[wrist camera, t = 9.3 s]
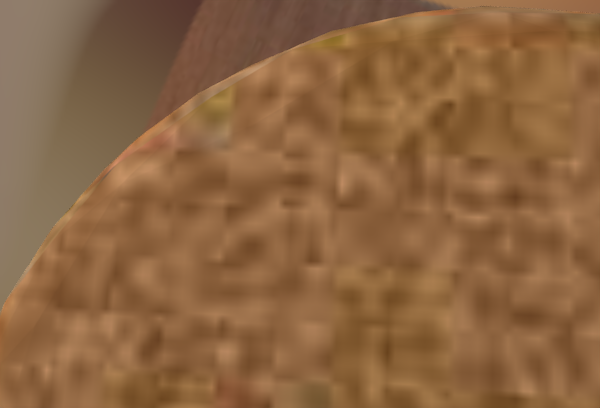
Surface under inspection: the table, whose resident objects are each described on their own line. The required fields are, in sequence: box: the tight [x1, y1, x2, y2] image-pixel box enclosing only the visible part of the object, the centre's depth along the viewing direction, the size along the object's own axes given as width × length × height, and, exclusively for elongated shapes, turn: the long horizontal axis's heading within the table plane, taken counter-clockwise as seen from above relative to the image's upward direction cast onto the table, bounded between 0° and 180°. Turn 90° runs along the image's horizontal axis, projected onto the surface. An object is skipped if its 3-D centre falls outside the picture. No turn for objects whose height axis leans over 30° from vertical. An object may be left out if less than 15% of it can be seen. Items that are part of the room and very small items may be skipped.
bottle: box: [0, 6, 600, 408], centre depth 9 cm, size 6×6×15 cm
